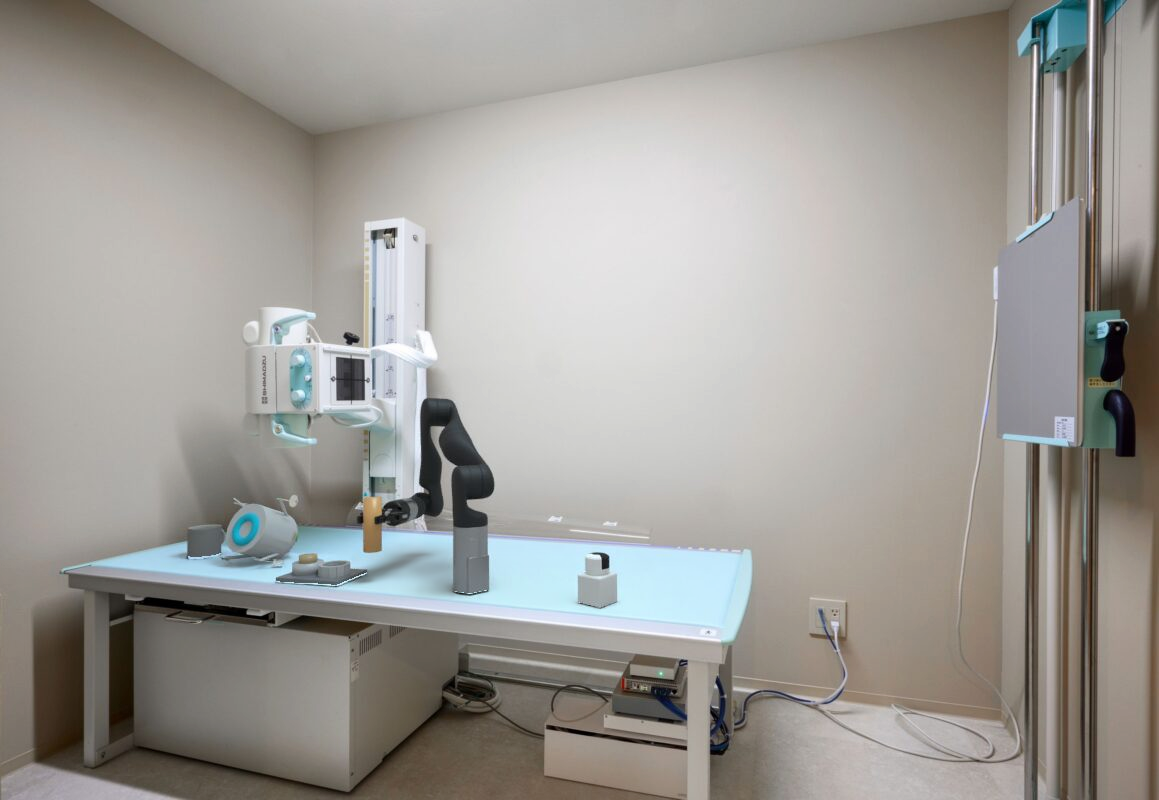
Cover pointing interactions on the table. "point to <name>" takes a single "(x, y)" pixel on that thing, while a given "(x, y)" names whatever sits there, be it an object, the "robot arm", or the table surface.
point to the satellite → (262, 532)
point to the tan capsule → (372, 525)
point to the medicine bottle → (597, 581)
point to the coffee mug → (204, 540)
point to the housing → (320, 571)
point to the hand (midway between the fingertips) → (367, 520)
